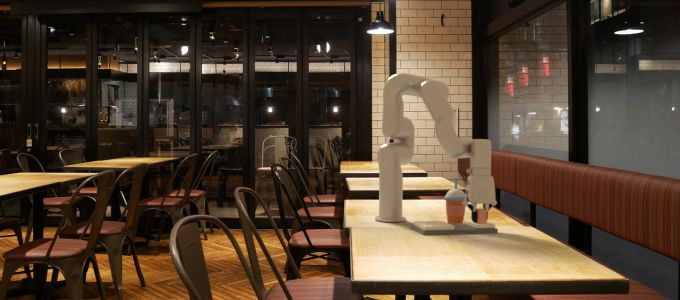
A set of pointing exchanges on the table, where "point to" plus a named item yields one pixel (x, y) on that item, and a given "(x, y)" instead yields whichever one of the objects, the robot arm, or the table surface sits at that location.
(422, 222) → the grey flat block
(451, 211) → the cup with straw
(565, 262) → the table surface
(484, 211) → the salmon brown block
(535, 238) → the table surface
